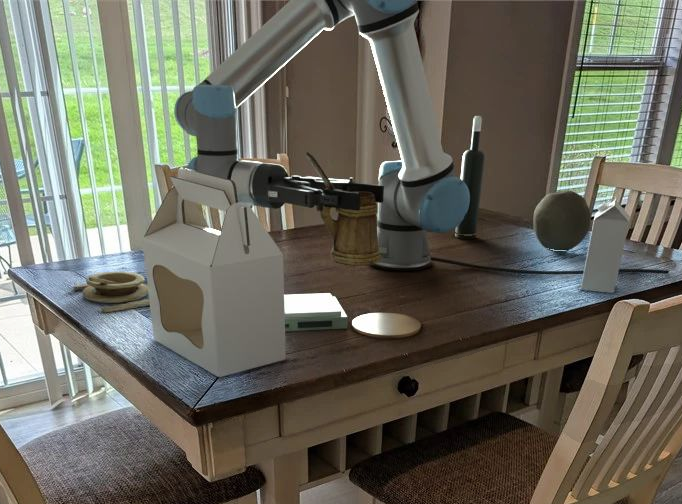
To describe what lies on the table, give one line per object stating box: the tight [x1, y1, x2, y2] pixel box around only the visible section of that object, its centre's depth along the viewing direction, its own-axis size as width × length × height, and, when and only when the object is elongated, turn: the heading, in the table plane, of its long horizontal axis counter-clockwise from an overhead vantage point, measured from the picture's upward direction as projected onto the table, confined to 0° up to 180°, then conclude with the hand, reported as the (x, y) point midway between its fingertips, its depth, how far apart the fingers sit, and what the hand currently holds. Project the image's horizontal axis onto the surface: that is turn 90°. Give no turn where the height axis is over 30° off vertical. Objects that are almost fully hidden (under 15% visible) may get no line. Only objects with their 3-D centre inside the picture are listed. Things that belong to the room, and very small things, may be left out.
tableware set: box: [73, 271, 150, 313], centre depth 153 cm, size 30×20×6 cm, turn 125°
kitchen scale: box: [284, 292, 349, 332], centre depth 139 cm, size 14×13×3 cm
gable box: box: [141, 167, 287, 379], centre depth 118 cm, size 22×13×28 cm, turn 40°
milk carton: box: [580, 194, 631, 294], centre depth 158 cm, size 7×7×19 cm
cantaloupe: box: [532, 190, 591, 253], centre depth 186 cm, size 14×14×15 cm
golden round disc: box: [351, 312, 422, 339], centre depth 137 cm, size 13×13×1 cm
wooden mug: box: [305, 151, 381, 267], centre depth 127 cm, size 9×14×18 cm, turn 100°
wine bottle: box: [454, 115, 486, 240], centre depth 195 cm, size 6×6×30 cm
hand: (371, 197), depth 125 cm, fingers closed on wooden mug, 8 cm apart
